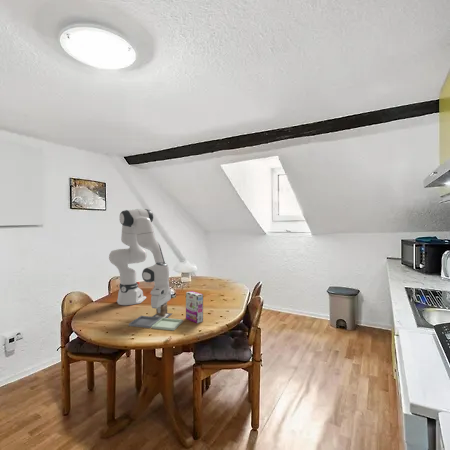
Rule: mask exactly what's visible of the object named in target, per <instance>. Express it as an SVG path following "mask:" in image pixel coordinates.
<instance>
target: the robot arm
mask: <svg viewBox="0 0 450 450" xmlns="http://www.w3.org/2000/svg"><path fill="white" fill-rule="evenodd" d="M153 221H154V214H153V211H152V210H151V209H147V208H145V209H142V208H136V209H125V210H122V211H121V212H120V214H119V223H120V224H121V225H122V227H121V237H120V238H121V243H122V244H124V245H125V246H128V248H118V249H117V248H116V249H113V250H111V251H110V253H109V256H108V259H109V262H110V263H111V264H112V265H113V266H115V267H116V269H117V270H118V273H119V290H118V294H117V300H116V303H117V305H120V306H131V305H137V304H138V305H139V304H141V303H142V302H144V301H145V300H146V299H147V296H145V295H144V292H143V290H142V288H140V287H139V285H140V281H137V271H136V270H135V269H133V268H131V267H129V265H132V264H139V263H143V262H145V261H146V259H147V256H148V254H147V252H146V250H148V251H150V252H151V253H152V256H153V259H154V264H153V265H151V266H147V267H145V268H144V269H143V270H142V272H141V277H142V280H143V282H145V283H154V286H153V288H152V289H151V290H150V295H151V297H150V306H151V308H152V309H156V308H157V310H158V313H161V309H160V307H161V305H163V304H164V305H167V306H168V304H167V303H168V302H169V301H170V300H171V298H172V291H171V288H170V281H169V279H170V268H169V265H168V263H167V262H166V261H165V257H164V255H163V252H162V247H161V245H160V243H159V242H158V240H157V239H156V236H155V233H154V226H153V223H152V222H153Z"/></svg>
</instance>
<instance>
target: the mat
mask: <svg viewBox="0 0 450 450" xmlns="http://www.w3.org/2000/svg"><path fill="white" fill-rule="evenodd" d="M172 315H173V313H170V312H167V313H166V314H165V315H156V313H155V314H154V315H151V317H160V318H170V317H171V316H172Z"/></svg>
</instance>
